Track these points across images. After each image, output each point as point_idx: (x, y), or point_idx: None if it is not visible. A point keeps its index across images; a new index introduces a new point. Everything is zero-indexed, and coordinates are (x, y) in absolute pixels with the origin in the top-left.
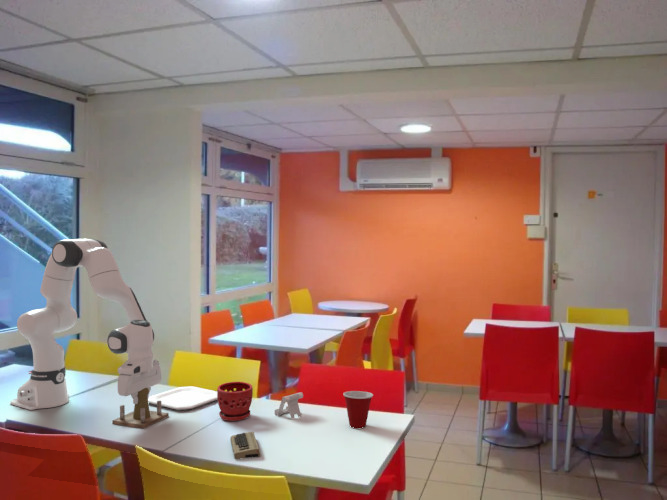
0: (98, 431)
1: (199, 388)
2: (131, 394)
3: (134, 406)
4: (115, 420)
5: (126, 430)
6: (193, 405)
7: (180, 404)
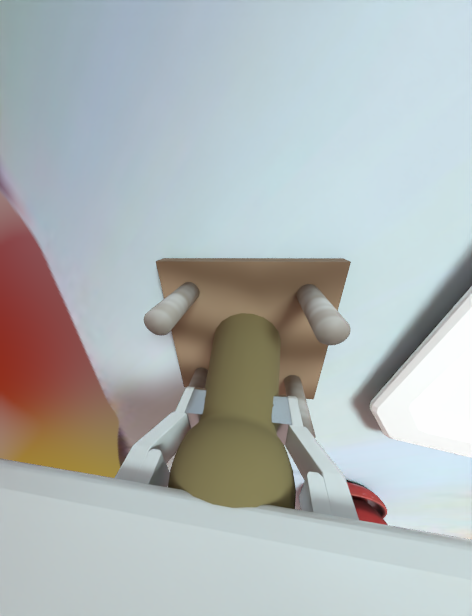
0: (84, 270)
1: None
2: (132, 455)
3: (214, 359)
4: (162, 275)
5: (150, 346)
6: (404, 441)
7: (448, 389)
